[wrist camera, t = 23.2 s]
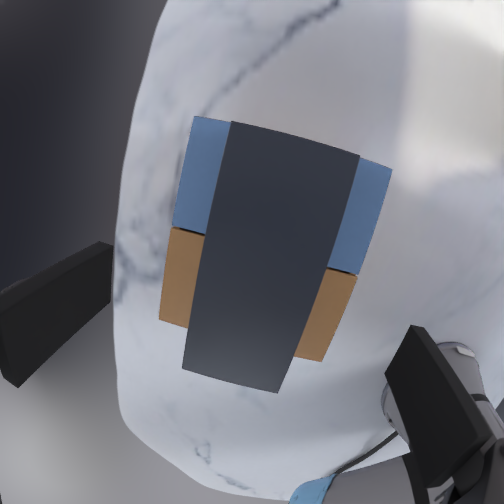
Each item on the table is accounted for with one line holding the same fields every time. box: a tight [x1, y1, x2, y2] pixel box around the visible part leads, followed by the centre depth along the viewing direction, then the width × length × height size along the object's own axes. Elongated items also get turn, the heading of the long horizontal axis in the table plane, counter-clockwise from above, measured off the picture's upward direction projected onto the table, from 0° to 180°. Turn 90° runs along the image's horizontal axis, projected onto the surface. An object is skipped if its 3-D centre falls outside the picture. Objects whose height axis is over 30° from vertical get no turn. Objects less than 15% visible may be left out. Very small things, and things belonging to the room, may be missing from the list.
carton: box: [159, 116, 388, 362], centre depth 24 cm, size 15×13×10 cm
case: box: [182, 121, 360, 393], centre depth 17 cm, size 14×6×5 cm, turn 165°
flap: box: [172, 116, 392, 275], centre depth 18 cm, size 7×13×1 cm, turn 75°
